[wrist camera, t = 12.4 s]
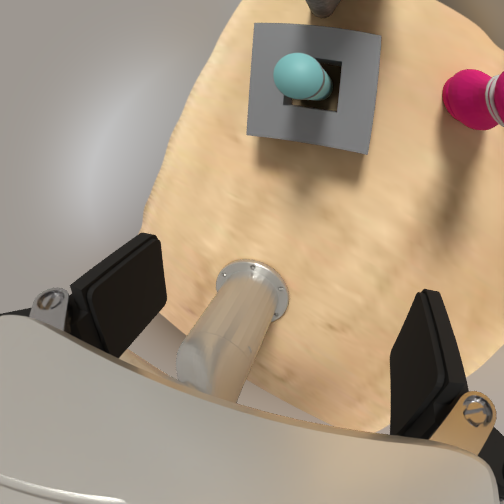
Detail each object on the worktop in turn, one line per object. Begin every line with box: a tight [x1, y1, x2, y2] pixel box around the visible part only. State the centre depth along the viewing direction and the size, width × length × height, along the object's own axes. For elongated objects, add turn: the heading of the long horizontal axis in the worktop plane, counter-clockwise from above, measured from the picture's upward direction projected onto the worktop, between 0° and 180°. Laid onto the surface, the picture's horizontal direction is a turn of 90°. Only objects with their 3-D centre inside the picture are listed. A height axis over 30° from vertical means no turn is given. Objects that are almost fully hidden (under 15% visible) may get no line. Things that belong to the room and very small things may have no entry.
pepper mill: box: [443, 69, 504, 130], centre depth 18 cm, size 7×7×20 cm
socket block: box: [246, 23, 381, 155], centre depth 30 cm, size 14×14×5 cm
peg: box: [273, 53, 333, 101], centre depth 26 cm, size 4×4×14 cm
